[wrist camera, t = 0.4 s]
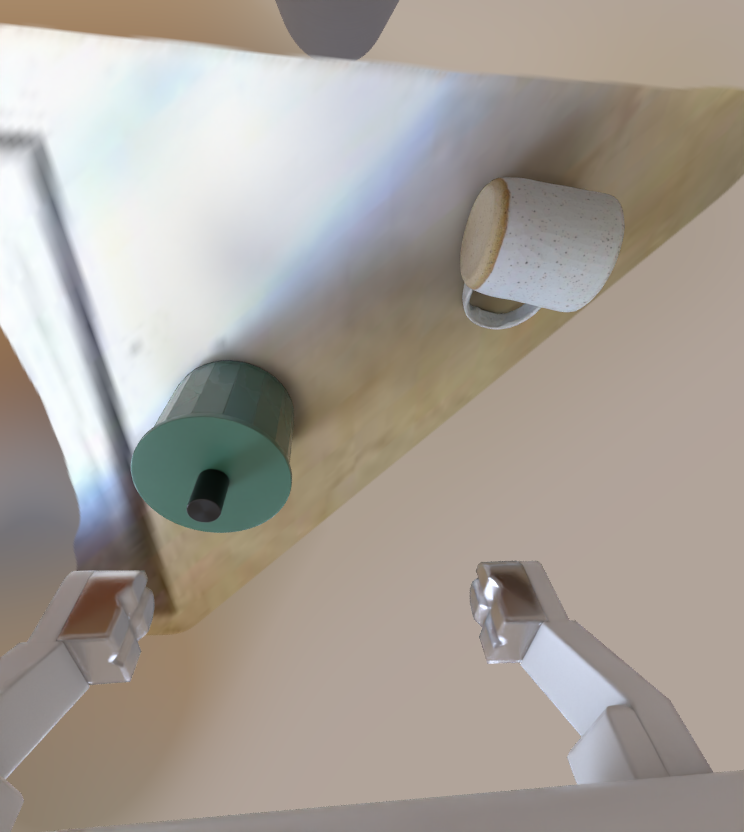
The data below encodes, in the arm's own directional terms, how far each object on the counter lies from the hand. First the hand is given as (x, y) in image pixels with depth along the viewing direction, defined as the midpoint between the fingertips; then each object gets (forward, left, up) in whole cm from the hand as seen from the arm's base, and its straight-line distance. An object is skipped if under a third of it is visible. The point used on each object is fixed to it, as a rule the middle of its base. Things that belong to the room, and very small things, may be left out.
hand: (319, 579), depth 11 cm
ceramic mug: (-3, +14, -26) cm, 30 cm away
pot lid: (+12, -8, -18) cm, 23 cm away
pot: (+12, -8, -26) cm, 30 cm away
